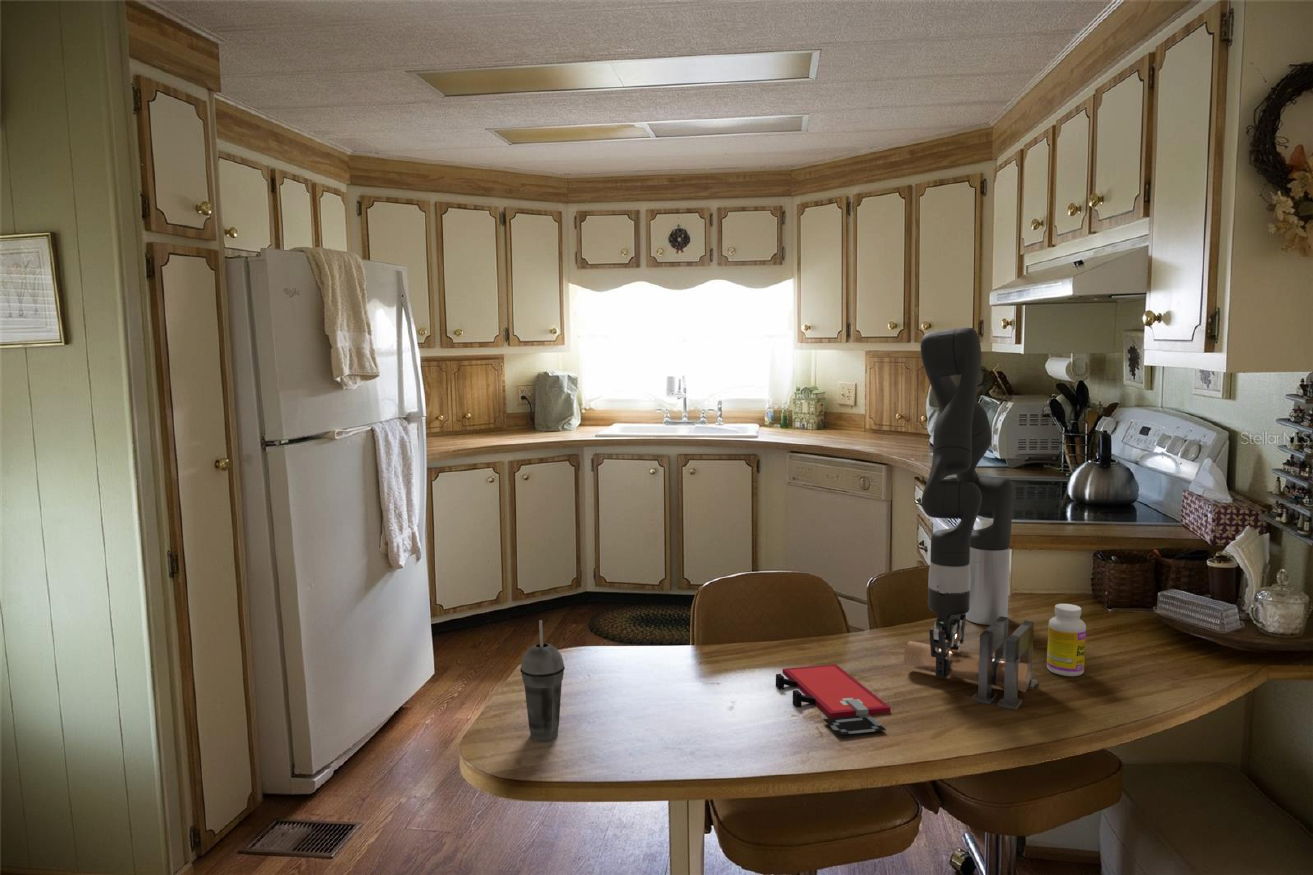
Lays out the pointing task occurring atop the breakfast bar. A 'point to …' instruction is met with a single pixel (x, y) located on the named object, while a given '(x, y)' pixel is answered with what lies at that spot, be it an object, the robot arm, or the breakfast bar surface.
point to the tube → (962, 665)
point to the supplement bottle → (1066, 641)
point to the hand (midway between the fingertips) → (946, 672)
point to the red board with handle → (835, 697)
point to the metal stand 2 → (1017, 663)
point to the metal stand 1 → (990, 657)
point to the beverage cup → (543, 688)
